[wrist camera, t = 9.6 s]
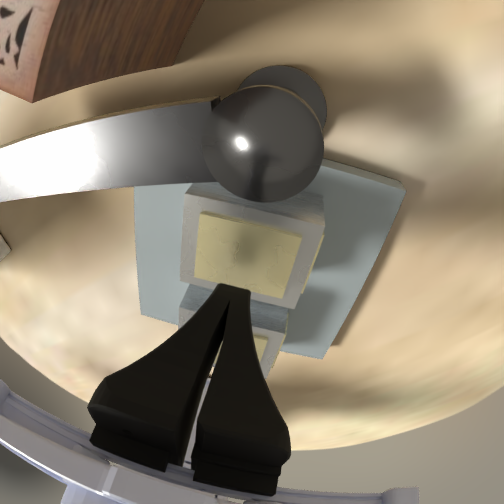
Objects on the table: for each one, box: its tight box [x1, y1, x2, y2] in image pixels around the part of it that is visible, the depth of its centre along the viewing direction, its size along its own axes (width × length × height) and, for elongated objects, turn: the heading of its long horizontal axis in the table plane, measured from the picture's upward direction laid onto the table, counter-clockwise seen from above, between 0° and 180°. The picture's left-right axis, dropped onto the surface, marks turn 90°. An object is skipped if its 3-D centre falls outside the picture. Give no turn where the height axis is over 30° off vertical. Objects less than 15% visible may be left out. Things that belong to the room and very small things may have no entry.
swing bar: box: [0, 85, 324, 203], centre depth 11 cm, size 18×4×2 cm, turn 95°
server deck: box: [134, 65, 406, 359], centre depth 16 cm, size 18×14×6 cm
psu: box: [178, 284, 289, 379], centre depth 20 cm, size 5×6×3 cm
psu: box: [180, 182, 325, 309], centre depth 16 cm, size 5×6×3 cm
